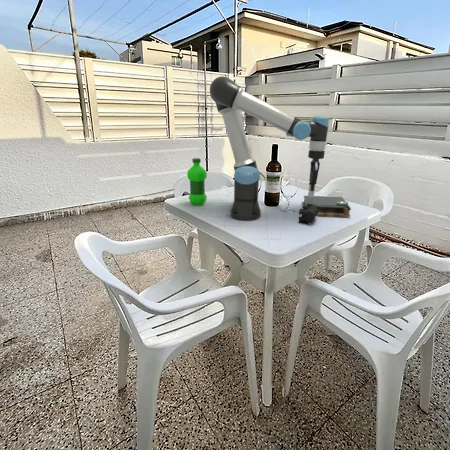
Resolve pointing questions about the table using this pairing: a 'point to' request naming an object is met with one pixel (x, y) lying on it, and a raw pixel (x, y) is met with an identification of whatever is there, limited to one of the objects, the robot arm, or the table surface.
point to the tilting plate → (326, 201)
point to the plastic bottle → (197, 183)
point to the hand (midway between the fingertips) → (310, 196)
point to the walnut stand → (331, 211)
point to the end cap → (308, 214)
